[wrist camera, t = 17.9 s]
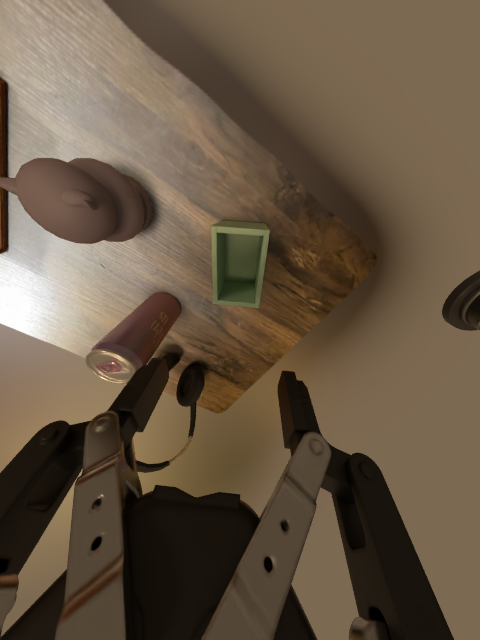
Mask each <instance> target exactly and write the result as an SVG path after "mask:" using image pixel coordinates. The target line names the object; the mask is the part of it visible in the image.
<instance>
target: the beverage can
mask: <svg viewBox="0 0 480 640" xmlns="http://www.w3.org/2000/svg"><path fill="white" fill-rule="evenodd" d="M179 315H180V307H179V304H178V302H177V301H176V299H175V298H173V297H172V296H170V295H168V294H166V293H155V294H152V295H151V296H150V297H149V298H148V299H146V300H145V301H144V302H143V303H142V304H141V305H140V306H139V307H137V308H136V309H135V310H134V311H133V312H132V313H131V314H130V315H128V316H127V317H126V318H125V319H124V320H123V321H122V322H121V323H119V324H118V325H117V326H116V327H115V328H114V329H113V330H112V331H110V332H109V333H108V334H107V335H106V336H105V337H104V338H103V339H101V340H100V341H99V342H98V343H97V344H96V345H95V346H94V347H93V348H92V350H91V352H90V353H89V354H88V355H87V356H86V364H87V366H88V367H89V368H90V370H91V371H92V372H93V373H95V374H96V375H97V376H99V377H101V378H103V379H105V380H107V381H110V382H114V383H121V384H123V383H128V381H129V380H130V379H131V377H132V376H133V374H134V373H135V372H136V371H137V370H138V369H139V368H140V367H142V366H143V365H146V364H147V363H148V361H149V360H150V358H151V357H152V355H153V354H154V352H155V351H156V349H157V348H158V346H159V345H160V343H161V342H162V340H163V339H164V337H165V336H166V334H167V333H168V331H169V330H170V328H171V327H172V325H173V324H174V322H175V321H176V319H177V318H178V316H179Z"/></svg>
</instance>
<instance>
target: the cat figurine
mask: <svg viewBox="0 0 480 640" xmlns="http://www.w3.org/2000/svg"><path fill="white" fill-rule="evenodd" d="M0 187H2V188H4V189H6V190H8V191H10V192H11V193H13V194H15V195H17V196H18V198H19V201H20V202H21V204H22V206H23V207H24V209H25V211H26V212H27V213H28V214H29V215H30V216H31V218H32V219H33V220H34V221H36V222H37V223H38V224H39V225H40V226H42V227H43V228H44V229H45V230H47V231H49V232H50V233H52V234H54V235H56V236H57V237H59V238H62V239H65V240H68V241H71V242H75V243H85V244H92V243H96V242H99V241H102V240H106V241H111V242H123V241H126V240H129V239H132V238H134V237H135V236H136V235H137V234H138V233H139V232H140V230H141V229H143V228H146V227H147V226H148V224H149V223H150V221H151V219H152V204H151V200H150V198H149V196H148V194H147V192H146V190H145V189H144V188H143V187H142V185H141V184H140V183H139V182H138V181H136V180H135V179H134V178H132V177H130V176H127V175H125V174H122V173H120V172H119V171H117V170H116V169H115V168H113V167H112V166H111V165H108V164H106V163H103V162H101V161H98V160H95V159H91V158H77V159H74V160H72V161H70V162H68V163H67V162H64V161H62V160H59V159H54V158H37V159H33V160H31V161H29V162H27V163H26V164H24V165H22V166H21V168H20V169H19V171H18V173H17V175H16V178H2V177H0Z"/></svg>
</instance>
